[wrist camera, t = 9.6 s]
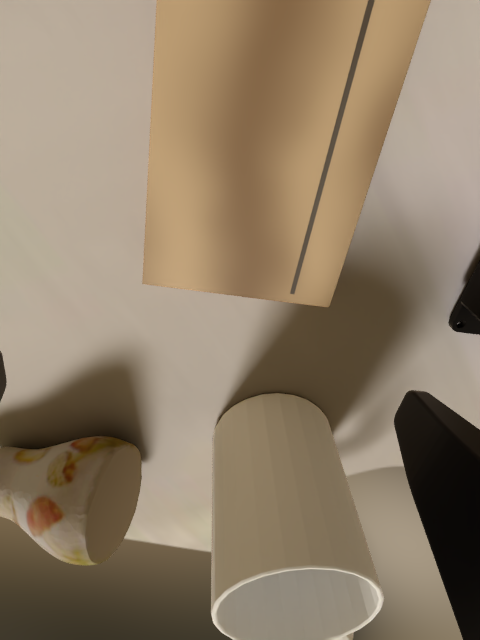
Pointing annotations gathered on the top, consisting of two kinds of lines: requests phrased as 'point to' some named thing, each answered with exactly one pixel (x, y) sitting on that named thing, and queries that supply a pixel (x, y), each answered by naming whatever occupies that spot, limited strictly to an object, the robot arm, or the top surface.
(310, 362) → the top surface
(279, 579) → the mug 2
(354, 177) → the board
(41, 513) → the patterned white vase
